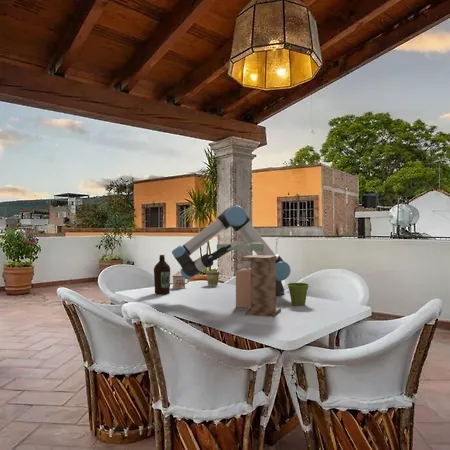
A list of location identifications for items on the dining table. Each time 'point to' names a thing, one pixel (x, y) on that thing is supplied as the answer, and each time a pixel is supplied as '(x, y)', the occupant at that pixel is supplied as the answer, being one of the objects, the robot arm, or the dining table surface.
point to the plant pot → (298, 293)
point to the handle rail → (245, 247)
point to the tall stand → (262, 285)
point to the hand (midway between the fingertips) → (237, 242)
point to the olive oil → (162, 277)
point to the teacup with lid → (178, 281)
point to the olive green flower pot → (213, 277)
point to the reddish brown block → (243, 288)
